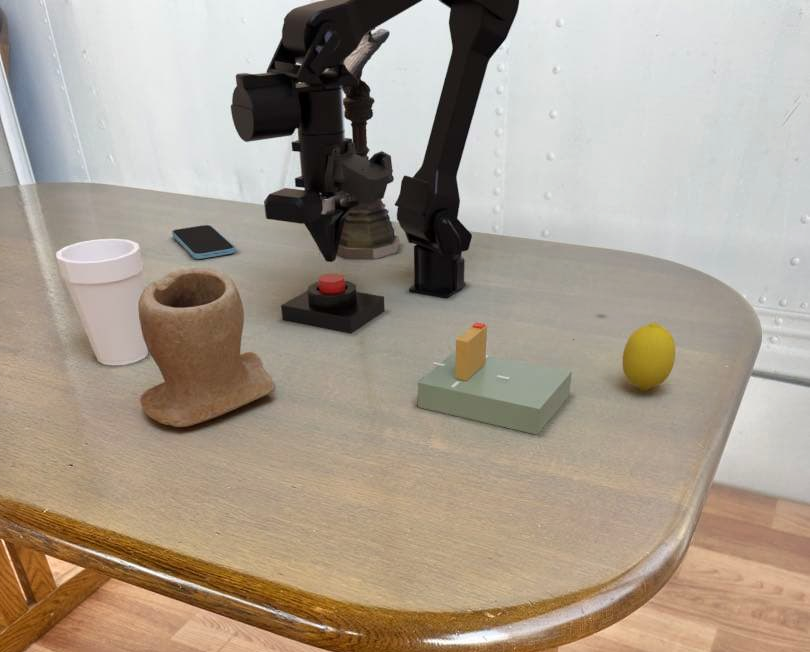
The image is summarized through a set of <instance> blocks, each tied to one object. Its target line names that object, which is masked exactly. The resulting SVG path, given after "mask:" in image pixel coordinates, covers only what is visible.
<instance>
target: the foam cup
mask: <svg viewBox="0 0 810 652" xmlns="http://www.w3.org/2000/svg"><path fill="white" fill-rule="evenodd" d="M141 253H142V252H141V249H140V245H139V243H138V242H135V241H133V240H130V239H123V238H100V239H99V238H98V239H97V238H96V239H90V240H85V241H80V242H76V243H72V244H70V245H67V246H63V247H62V248H61V249H59V250H58V251H56V252H55V254H56V255H55V257H56V262H57V265H58V269H59V273H60V277H61V279H63V280H64V282H65V284H66V288H67V290H68V292H69V294H70V297H71V299H72V302H73V304H74V307H75V310H76V312H77V314H78V317H79V320H80V322H81V324H82V326H83V330H84V331H85V334H86V336H87V339H88V341H89V343H90V346H91V349H92V351H93V354H94V356H95V357H96V360H97V362H99V364H102V365H105V366H125V365H130V364H134V363H137V362H139V361H141V360H144V359H146V357H147V356H148V355H149V350H148V348H147V346H146V344H145V341H144V338H143V334H142V330H141V325H140V319H139V310H138V305H139V299H140V296H141V294H142V293H143V291H144V289H145V288H144V277H143V270H144V269H145V268H144V264H143V259H142V254H141Z"/></svg>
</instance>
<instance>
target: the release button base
mask: <svg viewBox="0 0 810 652" xmlns="http://www.w3.org/2000/svg"><path fill="white" fill-rule="evenodd" d="M280 309H281V318H282V321H284V322H290V323H294V324H300V325H304V326H308V327H309V326H310V327H313V328H314V327H315V328H319V329H325V330H329V331H335V332H338V333H339V332H340V333H345V334H350V335H351V334H353V333H355V332H356V331H358V330H359V329H361V328H362V327H364V326H366V325H367V324H368V323H370V322H372V321H373V320H374V319H376V318H377V317H378V316H380V315H382V314H383V313H384V312H385V296H383V295H378V294H371V293H365V292H362V291H361V292H360V291H357V284H356V283H354V282H352V281H350V280H345V290H344V291H343V292H338V293H323V292H319V285H318V281H317V282H313V283H311V284H310V285H308V288H307V290H306V291H304V292H302V293H300V294H299V295H297V296H295V297H292V298H291V299H289V300H287V301H286V302H284V303H282V304H281V305H280Z"/></svg>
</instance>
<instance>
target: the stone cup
mask: <svg viewBox="0 0 810 652" xmlns="http://www.w3.org/2000/svg"><path fill="white" fill-rule="evenodd" d="M138 310H139V319H140V325H141V330H142V334H143V338H144V341H145V344H146V346H147V348H148V353H149V354H150V356H151V357H152V359H153V361H154V363H155V364H156V366H157V367H158V369H159V371H160V373H161V375H162V379H163V382H161V383H159V384H156V385H154V386H153V387H151V388H148V389H147V390H145V391H144V392H143V393H142V394H141V396H140V398H139V404H140V406H141V407H142V408H141V409H142V410H143V412H144V413H145V414H146V415H147V416H148V417H149V418H150V419H152V420H154V421H155V422H157V423H159V424H162V425H166V426H172V427H175V428H185V427H190V426H191V427H192V426H194V425H197V424H200V423H203V422H206V421H210V420H211V419H215V418H217V417H220V416H223V415H224V414H227V413H230V412H232V411H234V410H237V409H238V408H241V407H243V406H245V405H248V404H250V403H252V402H254V401H257V400H259V399H260V398H263V397H266V396H268V395H270V394H272V393H274V392H275V391H276V385H275V382H274V380H273V379H272V377H271V376H270V375H269V373H268V372H267V370H266V369H265V367H263V361H262V358H261V357H260V356H259V355H258V354H257V353H254V352H252V351H247V352H246V351H245V352H243V353H241V350H242V349H241V348H242V338H243V337H242V336H243V332H244V324H245V323H244V322H245V312H244V306H243V302H242V299H241V294H240V292H239V290H238V288H237V287H236V283H235V282H234V280H233V279H232V278H231V277H229V275H228V274H226V273H223V272H222V271H219V270H217V269H213V268H208V267H189V268H180V269H177V270H174V271H171V272H169V273H167V274H166V275H164V276H162V278H160V279H158V280H156V281H152V282H150V283H149V284H148V285H146V287H145V288H144V291H143V293H142V294H141V296H140V299H139V305H138Z"/></svg>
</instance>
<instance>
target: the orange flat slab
mask: <svg viewBox="0 0 810 652" xmlns="http://www.w3.org/2000/svg"><path fill="white" fill-rule="evenodd" d="M487 335H488V325H486V323H483V322H478V321H477V322H474V323H473V324H472V326H471V327H470V328H468V329H467V330H465V332H463V333H462V334H461V335H460V336H459V337H457V338H456V339H455V351H456V364H455V379H460V380H464V381H467V380H468V379H469V378H470V377H471V376H473V375H474V374H475V373H476V372H477V371H478V370H479V369H480V368H481V367H483V366H484V365H485V362H486V355H487V339H488V336H487Z"/></svg>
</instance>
